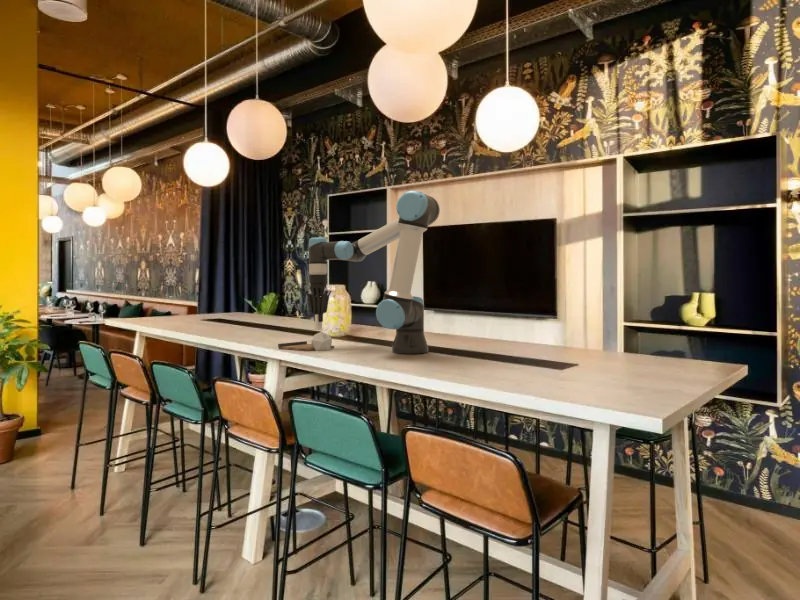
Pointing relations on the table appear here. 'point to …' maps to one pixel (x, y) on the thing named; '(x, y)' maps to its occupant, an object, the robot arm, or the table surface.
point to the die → (321, 342)
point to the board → (297, 346)
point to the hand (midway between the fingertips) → (318, 329)
